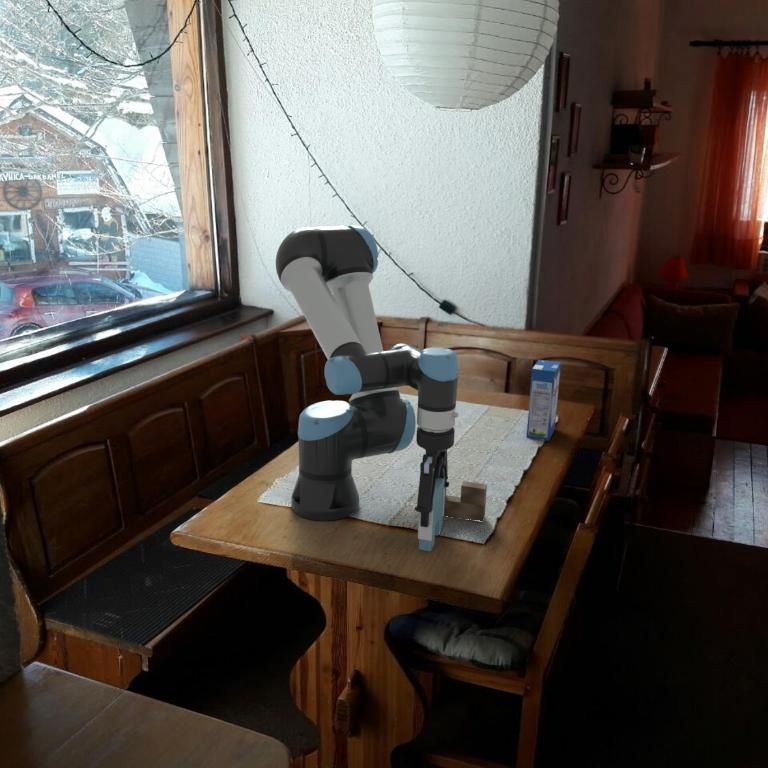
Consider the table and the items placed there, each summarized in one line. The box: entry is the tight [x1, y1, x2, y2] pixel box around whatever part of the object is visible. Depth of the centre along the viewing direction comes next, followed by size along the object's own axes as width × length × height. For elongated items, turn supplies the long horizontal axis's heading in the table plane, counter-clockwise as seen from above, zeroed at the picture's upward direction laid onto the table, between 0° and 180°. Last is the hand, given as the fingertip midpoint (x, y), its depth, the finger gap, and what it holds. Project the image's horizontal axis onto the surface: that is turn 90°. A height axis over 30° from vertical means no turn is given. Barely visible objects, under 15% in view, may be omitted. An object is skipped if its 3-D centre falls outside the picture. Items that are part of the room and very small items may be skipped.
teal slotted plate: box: [418, 477, 445, 552], centre depth 165 cm, size 10×2×12 cm, turn 163°
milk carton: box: [526, 359, 562, 442], centre depth 223 cm, size 10×6×20 cm, turn 159°
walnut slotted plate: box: [444, 480, 488, 522], centre depth 176 cm, size 14×2×8 cm, turn 73°
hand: (431, 527), depth 165 cm, fingers closed on teal slotted plate, 10 cm apart
